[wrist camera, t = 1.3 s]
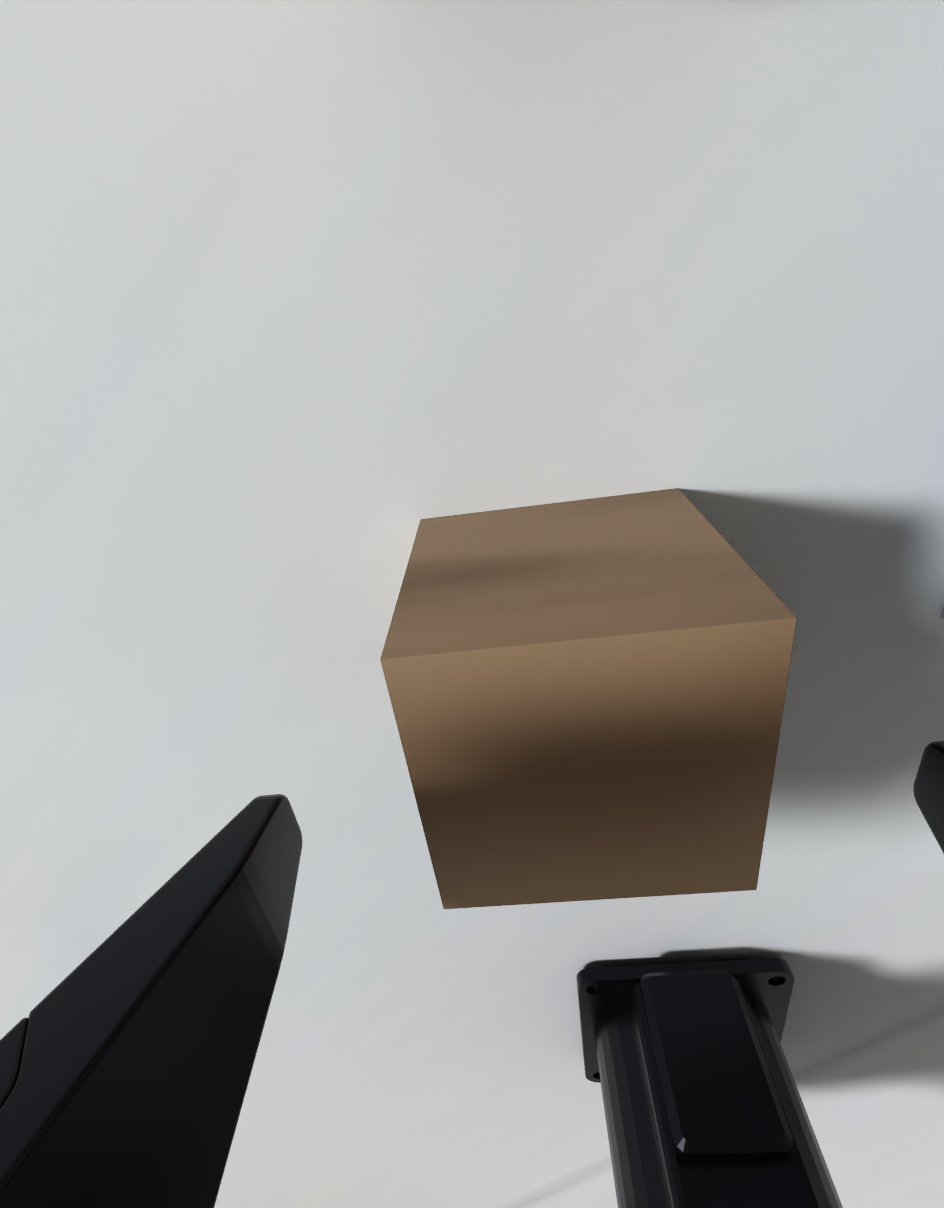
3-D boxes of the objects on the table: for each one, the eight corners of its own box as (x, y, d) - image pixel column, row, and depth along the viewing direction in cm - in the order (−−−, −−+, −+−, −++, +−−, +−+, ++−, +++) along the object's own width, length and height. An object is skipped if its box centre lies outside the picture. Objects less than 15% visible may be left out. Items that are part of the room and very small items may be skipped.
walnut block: (670, 694, 14) (756, 889, 9) (457, 713, 14) (444, 908, 10) (676, 486, 11) (796, 617, 7) (420, 517, 12) (380, 659, 7)
